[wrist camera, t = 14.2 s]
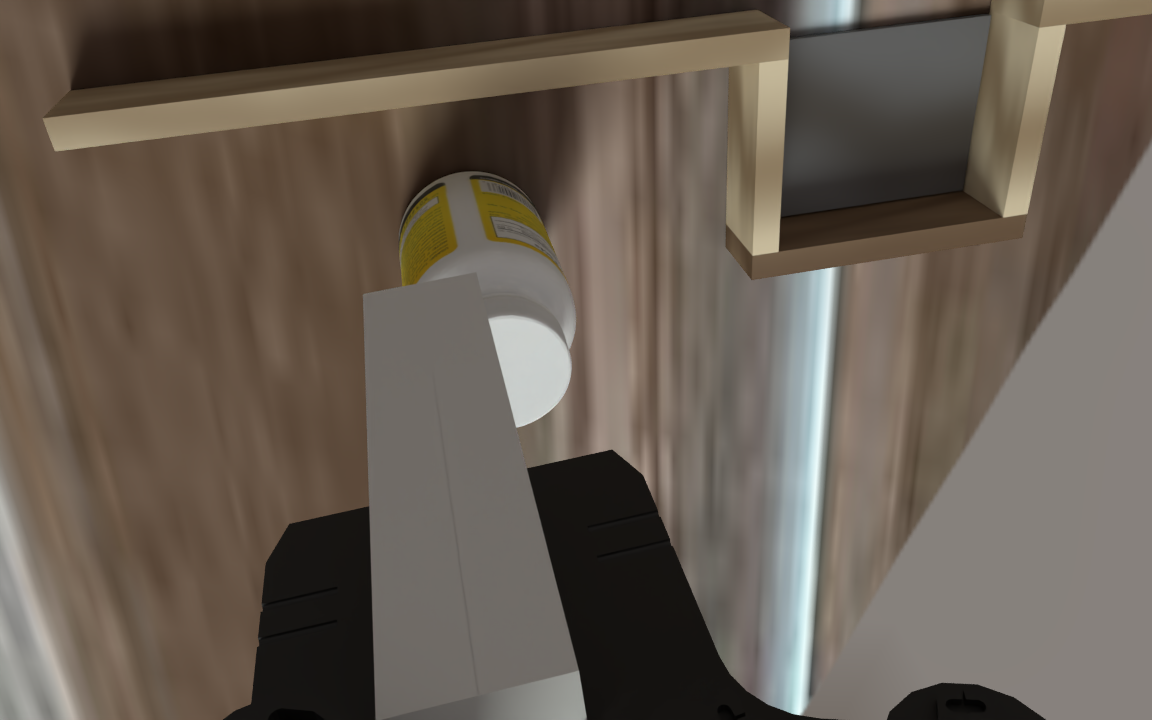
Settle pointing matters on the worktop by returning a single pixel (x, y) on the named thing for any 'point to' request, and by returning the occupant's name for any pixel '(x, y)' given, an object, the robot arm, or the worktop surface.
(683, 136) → the worktop surface
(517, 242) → the supplement bottle
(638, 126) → the worktop surface
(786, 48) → the wooden frame tray
